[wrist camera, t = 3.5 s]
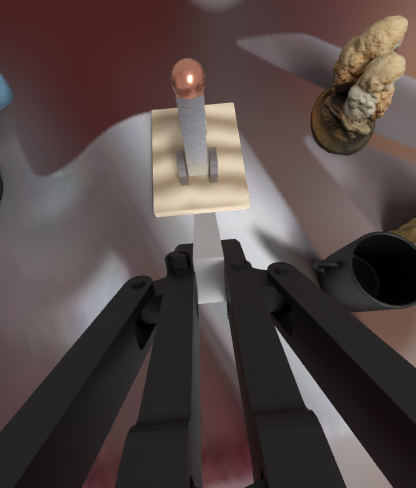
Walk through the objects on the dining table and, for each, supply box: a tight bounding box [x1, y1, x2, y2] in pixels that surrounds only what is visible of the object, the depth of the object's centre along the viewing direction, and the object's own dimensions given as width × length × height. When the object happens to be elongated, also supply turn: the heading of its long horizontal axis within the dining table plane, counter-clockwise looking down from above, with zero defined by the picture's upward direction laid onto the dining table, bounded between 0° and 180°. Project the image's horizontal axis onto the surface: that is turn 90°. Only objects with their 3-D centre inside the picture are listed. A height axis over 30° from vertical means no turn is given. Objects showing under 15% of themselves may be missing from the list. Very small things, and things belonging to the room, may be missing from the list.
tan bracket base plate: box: [152, 103, 250, 217], centre depth 41 cm, size 22×16×7 cm
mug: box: [312, 232, 416, 312], centre depth 33 cm, size 9×12×9 cm
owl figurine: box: [311, 15, 408, 155], centre depth 39 cm, size 18×12×17 cm, turn 169°
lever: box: [171, 58, 208, 176], centre depth 31 cm, size 4×4×17 cm
